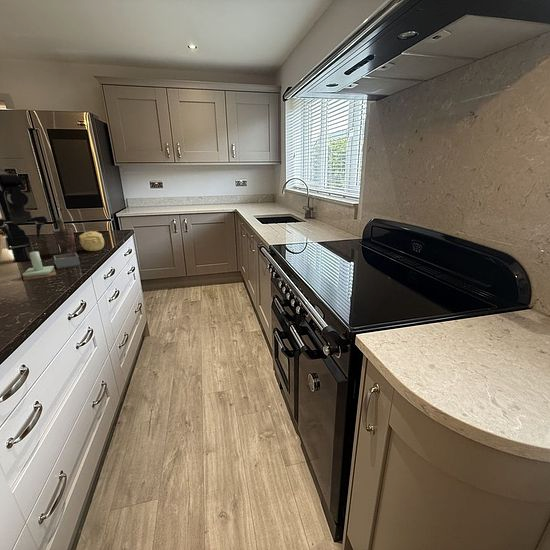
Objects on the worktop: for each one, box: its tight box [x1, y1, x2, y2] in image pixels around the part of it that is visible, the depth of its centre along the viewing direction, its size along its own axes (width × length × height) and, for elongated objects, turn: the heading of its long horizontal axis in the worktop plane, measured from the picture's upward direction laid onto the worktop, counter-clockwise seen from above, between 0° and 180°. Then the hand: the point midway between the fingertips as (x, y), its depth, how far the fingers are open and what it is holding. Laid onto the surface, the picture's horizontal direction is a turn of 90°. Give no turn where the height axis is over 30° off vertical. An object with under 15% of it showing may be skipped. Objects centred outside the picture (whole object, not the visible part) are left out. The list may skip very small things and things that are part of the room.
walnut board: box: [22, 267, 57, 282], centre depth 129 cm, size 11×11×1 cm
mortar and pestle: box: [52, 217, 78, 255], centre depth 158 cm, size 12×9×20 cm
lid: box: [22, 250, 55, 277], centre depth 127 cm, size 9×9×9 cm
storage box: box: [53, 252, 81, 270], centre depth 141 cm, size 9×9×4 cm
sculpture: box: [78, 230, 105, 252], centre depth 169 cm, size 11×12×11 cm
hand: (25, 240), depth 134 cm, fingers open, 9 cm apart
